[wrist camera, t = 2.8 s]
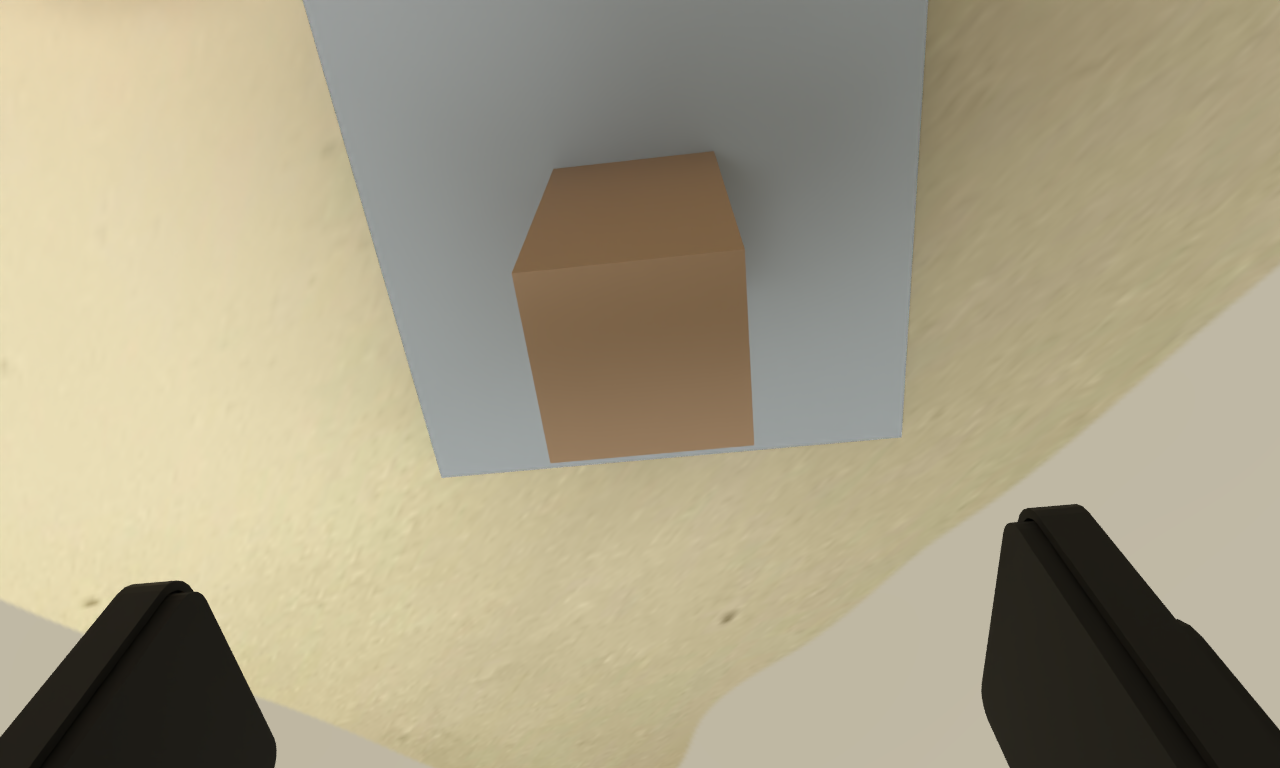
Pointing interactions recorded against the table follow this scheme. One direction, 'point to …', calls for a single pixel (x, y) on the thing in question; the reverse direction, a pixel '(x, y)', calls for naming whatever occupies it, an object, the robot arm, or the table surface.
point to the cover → (637, 217)
